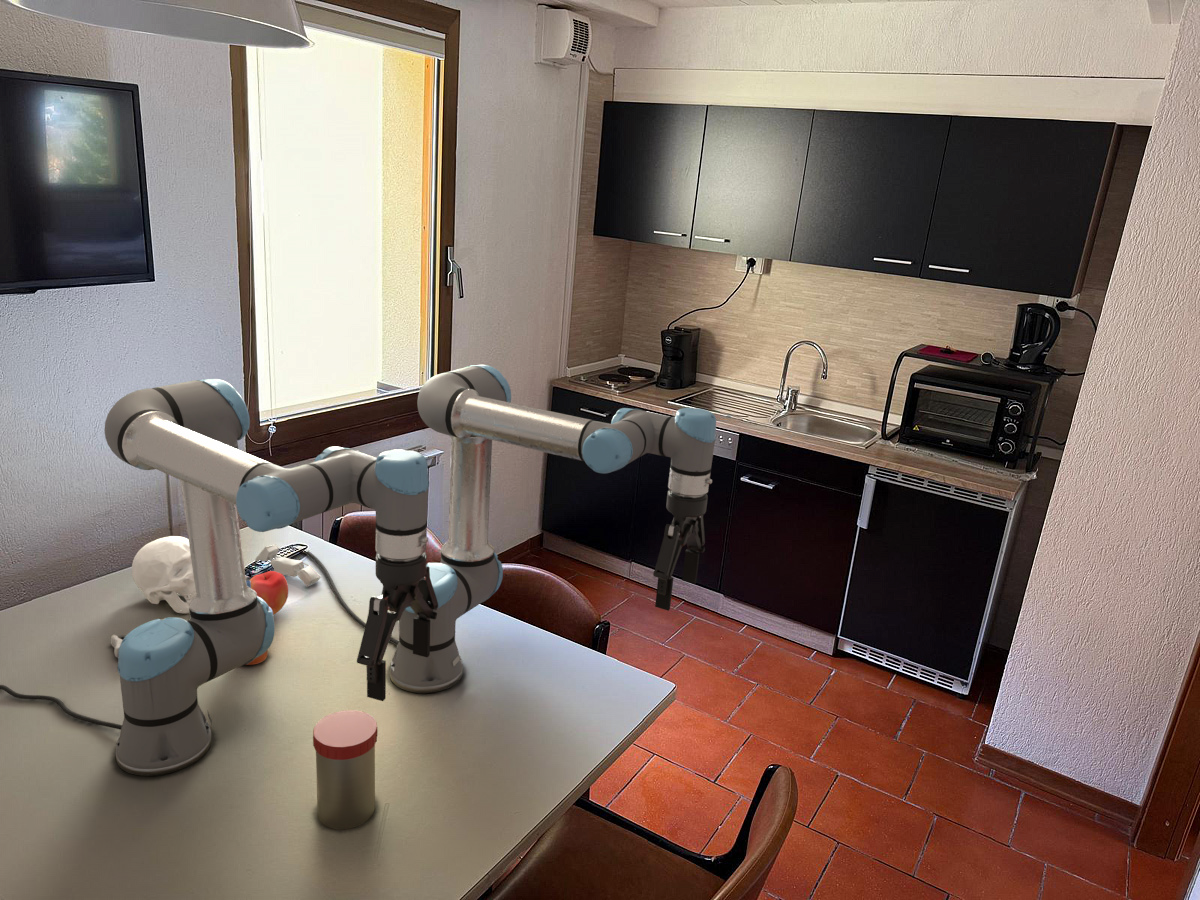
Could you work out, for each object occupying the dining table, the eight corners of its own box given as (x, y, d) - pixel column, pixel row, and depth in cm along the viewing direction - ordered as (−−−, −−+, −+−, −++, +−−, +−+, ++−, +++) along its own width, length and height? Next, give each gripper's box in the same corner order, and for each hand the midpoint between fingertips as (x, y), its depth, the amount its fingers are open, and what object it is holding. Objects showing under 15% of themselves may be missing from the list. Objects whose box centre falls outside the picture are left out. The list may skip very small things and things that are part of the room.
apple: (273, 600, 207) (272, 562, 204) (297, 613, 202) (296, 575, 199) (237, 614, 200) (234, 575, 197) (261, 628, 194) (259, 588, 191)
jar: (344, 784, 148) (343, 707, 143) (386, 803, 144) (386, 725, 140) (305, 815, 140) (302, 735, 136) (348, 837, 136) (347, 755, 132)
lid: (343, 715, 145) (343, 702, 144) (390, 734, 141) (390, 722, 140) (299, 746, 136) (299, 733, 135) (348, 768, 132) (347, 755, 131)
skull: (197, 623, 194) (195, 558, 190) (119, 603, 200) (115, 540, 196) (237, 600, 207) (236, 539, 203) (163, 582, 212) (160, 522, 208)
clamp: (253, 565, 223) (254, 542, 221) (265, 560, 226) (266, 537, 224) (309, 593, 215) (310, 569, 213) (320, 588, 218) (321, 564, 216)
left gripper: (378, 591, 116) (377, 724, 123) (461, 528, 139) (457, 643, 146) (330, 580, 118) (332, 712, 125) (420, 520, 141) (418, 633, 148)
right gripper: (681, 516, 147) (669, 626, 153) (728, 478, 168) (716, 576, 174) (642, 506, 150) (631, 614, 156) (693, 470, 171) (682, 566, 178)
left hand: (399, 675), depth 135 cm, fingers open, 13 cm apart
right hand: (676, 594), depth 165 cm, fingers open, 13 cm apart
